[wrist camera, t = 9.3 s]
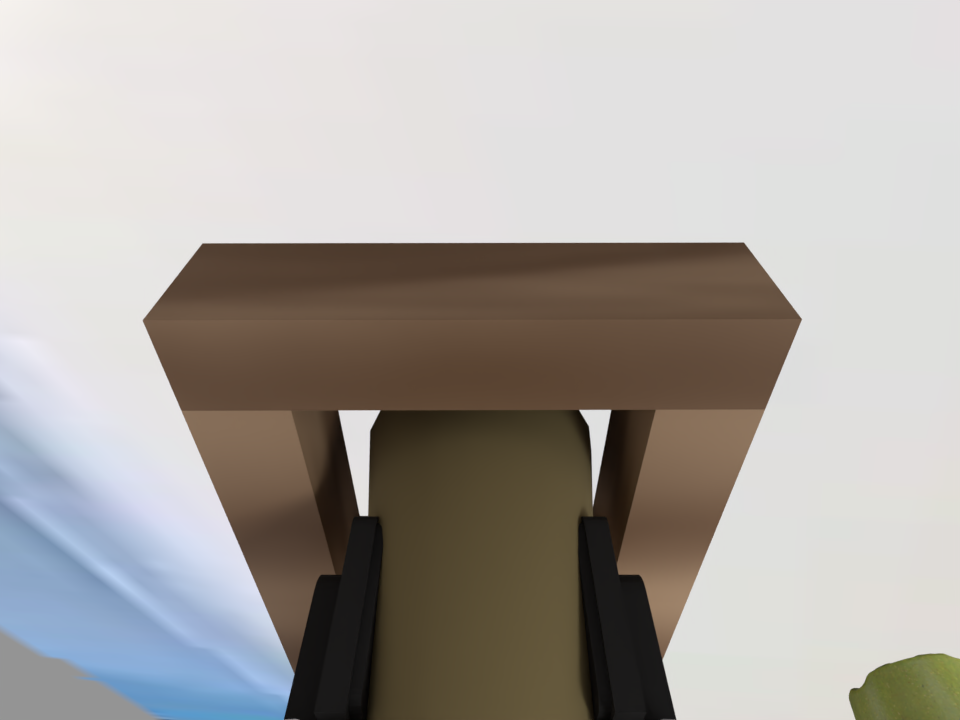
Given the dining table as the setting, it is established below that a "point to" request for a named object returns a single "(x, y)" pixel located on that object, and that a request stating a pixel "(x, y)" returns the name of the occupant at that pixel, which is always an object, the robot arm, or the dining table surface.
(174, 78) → the dining table surface
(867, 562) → the dining table surface
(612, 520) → the socket stand
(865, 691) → the plant pot
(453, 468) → the cork
